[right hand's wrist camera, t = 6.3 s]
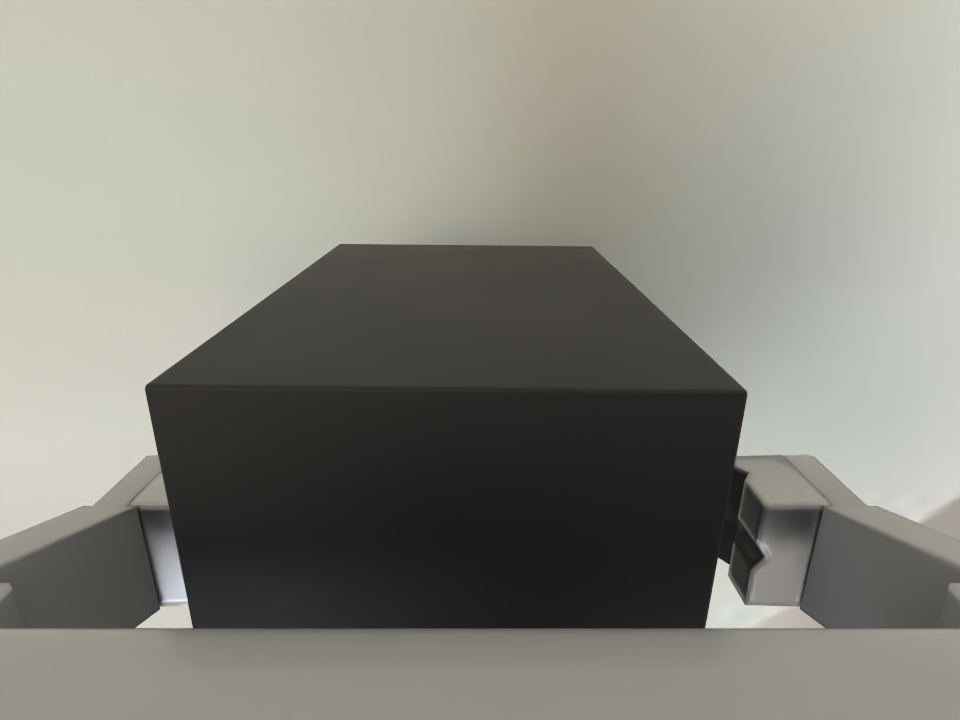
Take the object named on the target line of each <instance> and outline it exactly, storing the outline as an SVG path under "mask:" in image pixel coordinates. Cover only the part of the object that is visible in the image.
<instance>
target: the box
mask: <svg viewBox="0 0 960 720" xmlns="http://www.w3.org/2000/svg"><path fill="white" fill-rule="evenodd" d="M145 391H146V396H147V401H148V406H149V411H150V416H151V421H152V426H153V431H154V436H155V441H156V446H157V451H158V456H159V461H160V466H161V471H162V476H163V481H164V486H165V491H166V496H167V501H168V506H169V511H170V516H171V521H172V525H173V530H174V535H175V540H176V545H177V550H178V555H179V560H180V565H181V570H182V575H183V580H184V585H185V590H186V595H187V600H188V605H189V610H190V615H191V620H192V625H193V628H705V626H706V620H707V615H708V609H709V603H710V598H711V592H712V587H713V581H714V576H715V570H716V565H717V559H718V554H719V548H720V543H721V537H722V532H723V526H724V521H725V515H726V510H727V504H728V498H729V493H730V487H731V482H732V476H733V471H734V465H735V460H736V454H737V449H738V443H739V438H740V432H741V427H742V421H743V416H744V410H745V405H746V399H747V391H746V390H745V389H744V388H743V387H742V386H741V385H740V384H739V383H738V382H737V381H735V380H734V379H733V378H732V377H731V376H730V375H729V374H728V373H727V372H726V371H725V370H724V369H723V368H722V367H720V366H719V365H718V364H717V363H716V362H715V361H714V360H713V359H712V358H711V357H710V356H709V355H708V354H707V353H705V352H704V351H703V350H702V349H701V348H700V347H699V346H698V345H697V344H696V343H695V342H694V341H693V340H692V339H690V338H689V337H688V336H687V335H686V334H685V333H684V332H683V331H682V330H681V329H680V328H679V327H678V326H677V325H675V324H674V323H673V322H672V321H671V320H670V319H669V318H668V317H667V316H666V315H665V314H664V313H663V312H662V311H660V310H659V309H658V308H657V307H656V306H655V305H654V304H653V303H652V302H651V301H650V300H649V299H648V298H647V297H645V296H644V295H643V294H642V293H641V292H640V291H639V290H638V289H637V288H636V287H635V286H634V285H633V284H632V283H630V282H629V281H628V280H627V279H626V278H625V277H624V276H623V275H622V274H621V273H620V272H619V271H618V270H617V269H615V268H614V267H613V266H612V265H611V264H610V263H609V262H608V261H607V260H606V259H605V258H604V257H603V256H602V255H600V254H599V253H598V252H597V251H596V250H595V249H594V248H593V247H576V246H477V245H379V244H340V245H338V246H337V247H335V248H334V249H333V250H331V251H330V252H329V253H327V254H326V255H324V256H323V257H322V258H320V259H319V260H318V261H316V262H315V263H313V264H312V265H311V266H309V267H308V268H307V269H305V270H304V271H302V272H301V273H300V274H298V275H297V276H296V277H294V278H293V279H291V280H290V281H289V282H287V283H286V284H285V285H283V286H282V287H280V288H279V289H278V290H276V291H275V292H274V293H272V294H271V295H269V296H268V297H267V298H265V299H264V300H263V301H261V302H260V303H258V304H257V305H256V306H254V307H253V308H252V309H250V310H249V311H247V312H246V313H245V314H243V315H242V316H241V317H239V318H238V319H236V320H235V321H234V322H232V323H231V324H230V325H228V326H227V327H225V328H224V329H223V330H221V331H220V332H219V333H217V334H216V335H214V336H213V337H212V338H210V339H209V340H208V341H206V342H205V343H203V344H202V345H201V346H199V347H198V348H197V349H195V350H194V351H192V352H191V353H190V354H188V355H187V356H186V357H184V358H183V359H181V360H180V361H179V362H177V363H176V364H174V365H173V366H172V367H170V368H169V369H168V370H166V371H165V372H163V373H162V374H161V375H159V376H158V377H157V378H155V379H154V380H152V381H151V382H150V383H148V384H147V385H146V387H145Z"/></svg>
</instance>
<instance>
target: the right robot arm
mask: <svg viewBox="0 0 960 720" xmlns="http://www.w3.org/2000/svg"><path fill="white" fill-rule="evenodd" d="M718 558H720V559H722V560H723V561H725V562H726V563H728V564H729V565H730V566H729V572H728V576H729V578H730V580H731V581H732V583H733V585H734V587H735V588H736V590H737V592H738V593H739V595H740V597H741V599H742V600H743V602H744V604H745V605H768V606H800V609H801V610H802V611H803V612H805V613H806V614H807V615H809V616H810V617H811V618H813V619H814V620H815V621H817V622H818V623H819V624H821V625H822V626H823V627H825V628H821V629H820V628H818V629H817V628H815V629H813V628H800V629H799V628H766V629H765V628H135V627H137V626H138V625H139V624H141V623H142V622H143V621H145V620H146V619H147V618H149V617H150V616H151V615H153V614H154V613H155V612H157V611H158V610H159V609H160V606H189V605H188V600H187V595H186V590H185V585H184V580H183V575H182V570H181V565H180V560H179V555H178V550H177V545H176V540H175V535H174V530H173V525H172V521H171V516H170V511H169V506H168V501H167V496H166V491H165V486H164V481H163V476H162V471H161V466H160V461H159V456H158V455H152V456H146V457H145V458H144V459H143V460H142V461H141V462H140V463H139V464H138V465H137V466H136V467H134V468H133V469H132V470H131V471H130V472H129V473H128V474H127V475H126V476H125V477H124V478H123V479H121V480H120V481H119V482H118V483H117V484H116V485H115V486H114V487H113V488H112V489H111V490H110V491H108V492H107V493H106V494H105V495H104V496H103V497H102V498H101V499H100V500H99V501H98V502H97V503H96V504H94V505H93V506H82V507H80V508H77V509H75V510H72V511H70V512H67V513H65V514H63V515H60V516H58V517H55V518H53V519H50V520H48V521H46V522H43V523H41V524H38V525H36V526H33V527H31V528H28V529H26V530H24V531H21V532H19V533H16V534H14V535H11V536H9V537H6V538H4V539H2V540H0V720H960V540H958V539H956V538H953V537H951V536H948V535H946V534H944V533H941V532H939V531H936V530H934V529H931V528H929V527H927V526H924V525H922V524H919V523H917V522H914V521H912V520H910V519H907V518H905V517H902V516H900V515H897V514H895V513H892V512H890V511H888V510H885V509H883V508H880V507H878V506H867V505H866V504H865V503H863V502H862V501H861V500H860V499H859V498H858V497H857V496H856V495H855V494H854V493H853V492H852V491H851V490H849V489H848V488H847V487H846V486H845V485H844V484H843V483H842V482H841V481H840V480H839V479H838V478H837V477H835V476H834V475H833V474H832V473H831V472H830V471H829V470H828V469H827V468H826V467H825V466H824V465H822V464H821V463H820V462H819V461H818V460H817V459H816V458H815V457H813V456H810V455H807V454H805V455H767V456H736V460H735V465H734V471H733V476H732V482H731V487H730V493H729V498H728V504H727V510H726V515H725V521H724V526H723V532H722V537H721V543H720V548H719V554H718Z"/></svg>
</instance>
